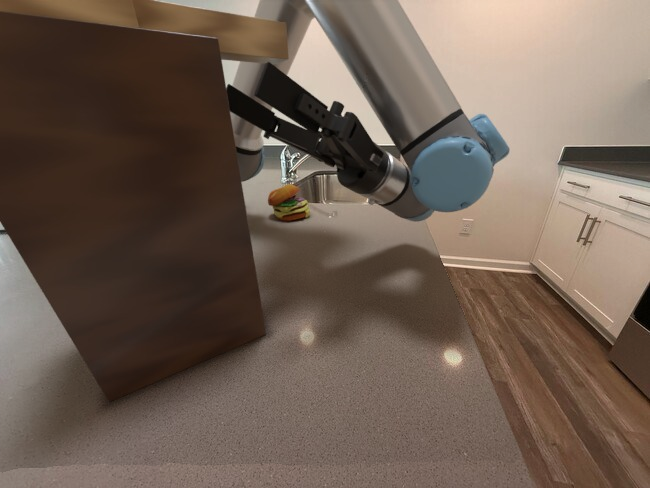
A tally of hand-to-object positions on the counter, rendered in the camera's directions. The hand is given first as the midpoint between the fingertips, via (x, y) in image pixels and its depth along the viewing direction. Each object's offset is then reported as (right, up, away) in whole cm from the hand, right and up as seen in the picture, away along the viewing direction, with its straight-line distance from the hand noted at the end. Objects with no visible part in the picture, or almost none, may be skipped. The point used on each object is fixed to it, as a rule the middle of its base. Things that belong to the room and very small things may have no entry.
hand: (238, 88), depth 27 cm
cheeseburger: (-1, -8, +46) cm, 47 cm away
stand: (-8, -27, +7) cm, 29 cm away
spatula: (-5, +1, -4) cm, 6 cm away
